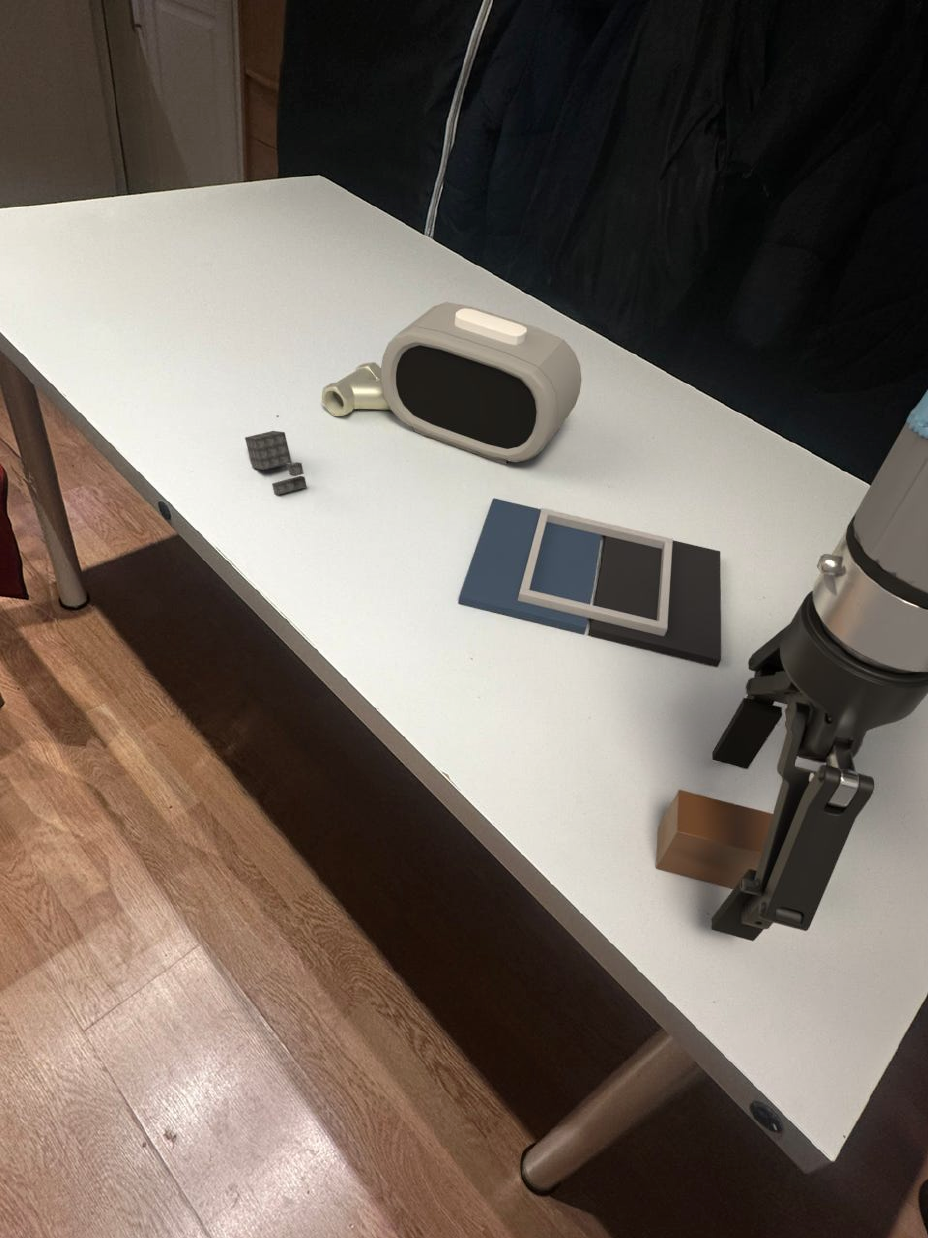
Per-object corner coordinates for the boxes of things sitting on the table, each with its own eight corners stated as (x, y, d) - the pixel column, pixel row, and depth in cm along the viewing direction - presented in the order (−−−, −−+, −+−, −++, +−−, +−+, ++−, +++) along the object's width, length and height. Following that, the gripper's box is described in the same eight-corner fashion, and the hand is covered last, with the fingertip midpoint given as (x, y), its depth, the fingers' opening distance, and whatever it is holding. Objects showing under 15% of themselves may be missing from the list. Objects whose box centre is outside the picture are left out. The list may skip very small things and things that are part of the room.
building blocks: (273, 430, 87) (304, 434, 80) (285, 481, 89) (316, 489, 82) (244, 437, 85) (274, 441, 79) (257, 489, 87) (287, 497, 81)
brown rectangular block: (779, 859, 60) (807, 822, 57) (782, 902, 58) (812, 867, 54) (658, 827, 61) (678, 789, 57) (655, 869, 58) (677, 831, 55)
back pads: (717, 558, 85) (723, 543, 83) (717, 667, 73) (725, 652, 72) (491, 505, 87) (494, 489, 85) (457, 604, 75) (460, 587, 74)
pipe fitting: (406, 407, 99) (360, 384, 101) (411, 379, 96) (364, 355, 98) (368, 435, 94) (320, 410, 96) (371, 405, 91) (323, 380, 93)
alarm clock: (375, 422, 95) (381, 310, 86) (413, 389, 102) (422, 281, 92) (538, 482, 91) (564, 370, 81) (567, 443, 97) (593, 335, 88)
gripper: (790, 475, 51) (682, 693, 66) (829, 807, 34) (670, 1003, 48) (911, 503, 51) (775, 716, 66) (1016, 856, 33) (797, 1038, 48)
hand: (730, 838), depth 57 cm, fingers open, 13 cm apart
